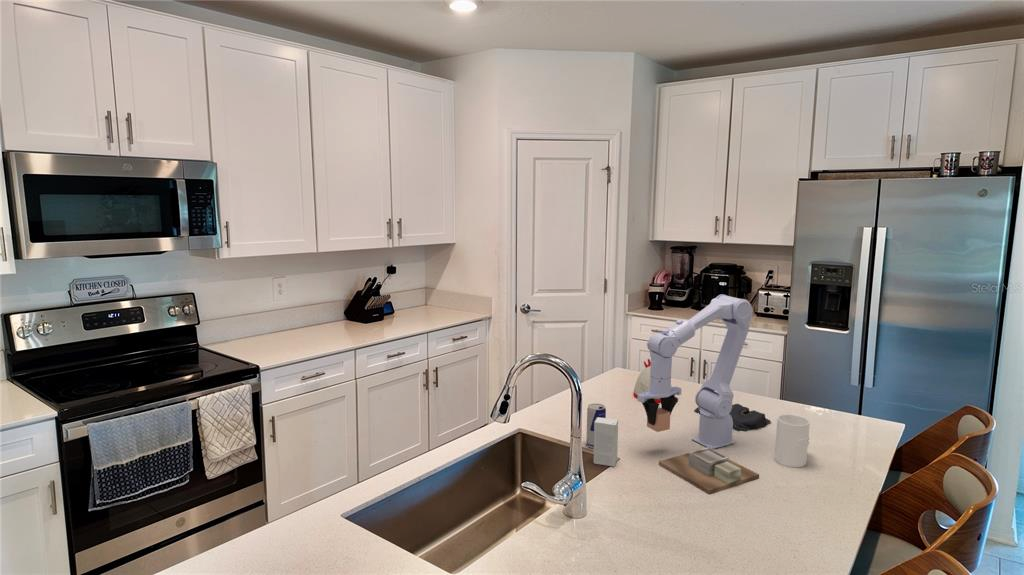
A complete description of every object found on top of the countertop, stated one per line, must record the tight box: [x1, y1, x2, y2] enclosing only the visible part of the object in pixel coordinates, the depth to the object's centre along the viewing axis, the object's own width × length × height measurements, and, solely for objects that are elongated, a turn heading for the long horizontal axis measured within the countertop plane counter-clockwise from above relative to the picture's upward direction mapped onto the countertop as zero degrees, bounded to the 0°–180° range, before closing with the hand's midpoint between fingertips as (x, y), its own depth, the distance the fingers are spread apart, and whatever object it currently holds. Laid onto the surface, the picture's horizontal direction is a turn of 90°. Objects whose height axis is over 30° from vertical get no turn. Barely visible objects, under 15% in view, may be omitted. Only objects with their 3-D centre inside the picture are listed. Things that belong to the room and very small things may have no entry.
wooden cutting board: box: [658, 447, 760, 495], centre depth 155 cm, size 18×18×5 cm
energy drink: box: [586, 403, 607, 450], centre depth 170 cm, size 5×5×12 cm
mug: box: [774, 414, 810, 468], centre depth 162 cm, size 8×12×12 cm
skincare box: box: [593, 417, 619, 467], centre depth 160 cm, size 6×4×12 cm
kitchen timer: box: [633, 358, 673, 404], centre depth 212 cm, size 14×14×15 cm
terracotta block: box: [646, 406, 672, 433], centre depth 166 cm, size 4×4×5 cm
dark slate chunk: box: [693, 403, 772, 433], centre depth 193 cm, size 15×22×5 cm
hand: (658, 422), depth 166 cm, fingers closed on terracotta block, 4 cm apart
